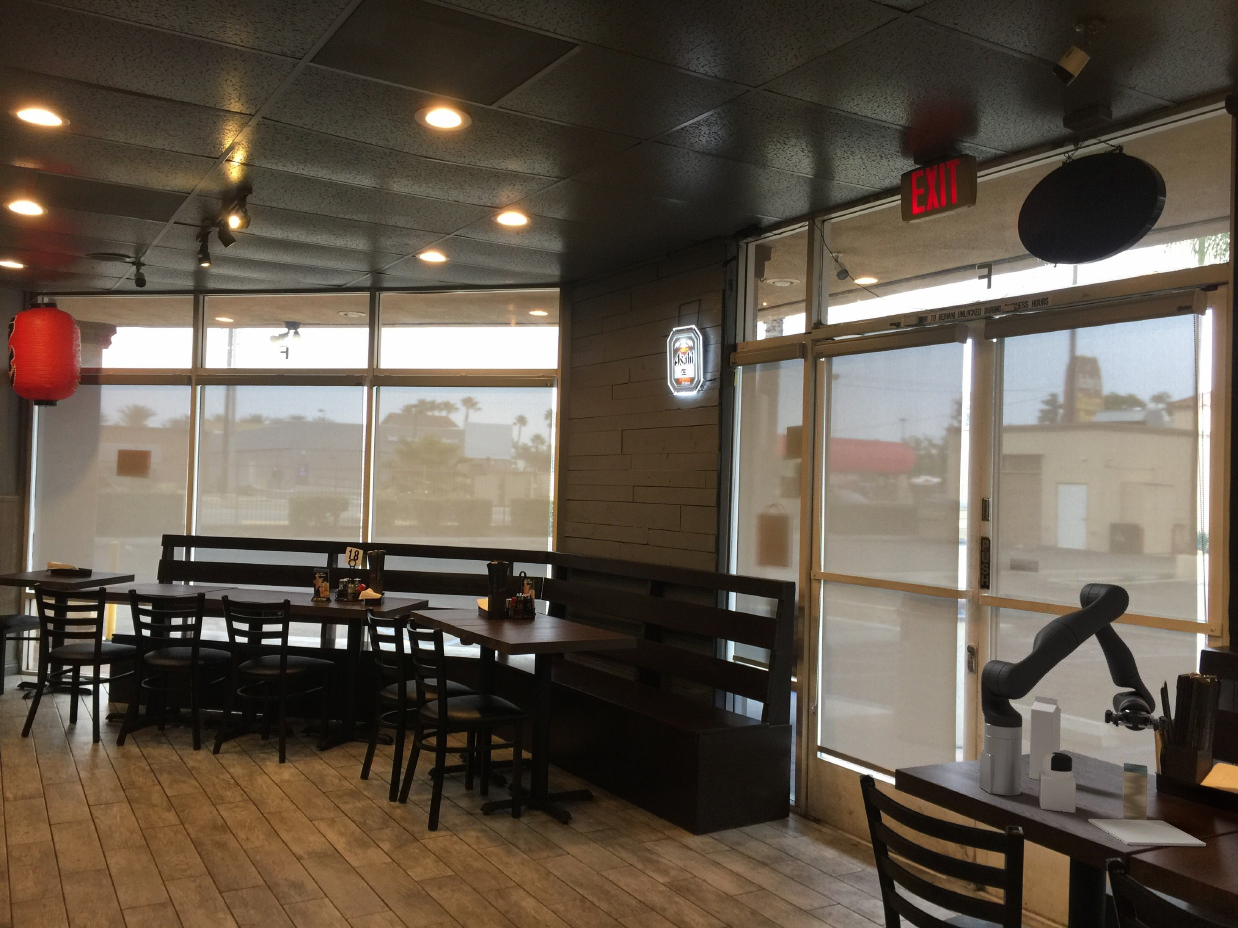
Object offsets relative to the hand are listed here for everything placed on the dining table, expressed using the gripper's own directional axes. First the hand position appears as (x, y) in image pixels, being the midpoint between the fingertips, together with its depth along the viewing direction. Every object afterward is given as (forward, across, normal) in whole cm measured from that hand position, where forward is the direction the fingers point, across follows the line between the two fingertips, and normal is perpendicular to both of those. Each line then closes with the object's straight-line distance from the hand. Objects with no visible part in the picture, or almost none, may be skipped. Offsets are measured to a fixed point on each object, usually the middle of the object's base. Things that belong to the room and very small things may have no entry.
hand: (1136, 724), depth 251 cm
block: (+11, 0, +20) cm, 23 cm away
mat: (+24, +2, +20) cm, 31 cm away
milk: (-14, -22, +20) cm, 33 cm away
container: (+13, -17, +20) cm, 30 cm away
